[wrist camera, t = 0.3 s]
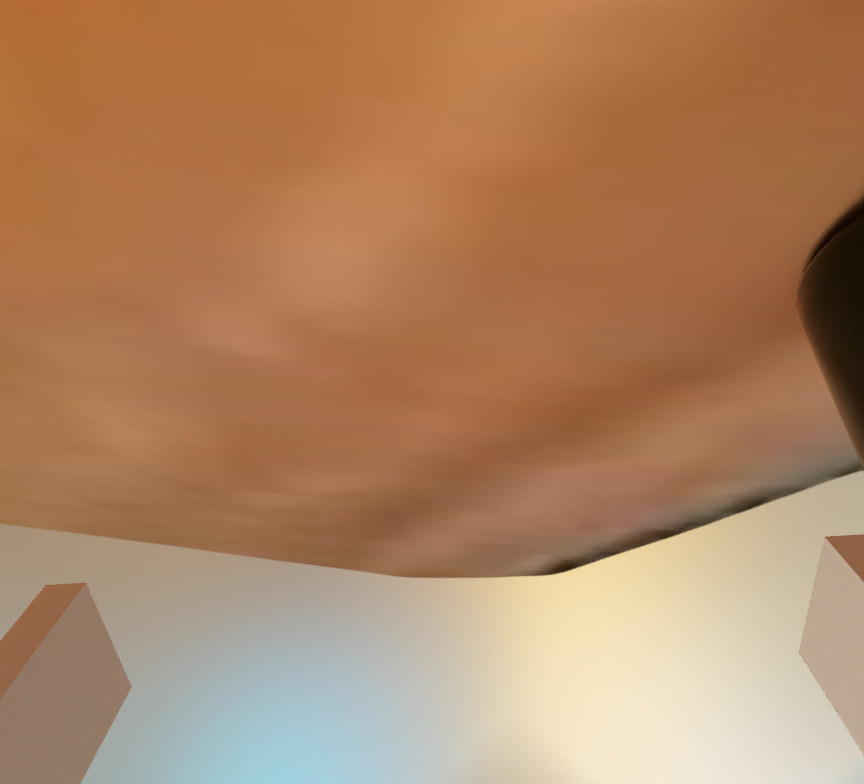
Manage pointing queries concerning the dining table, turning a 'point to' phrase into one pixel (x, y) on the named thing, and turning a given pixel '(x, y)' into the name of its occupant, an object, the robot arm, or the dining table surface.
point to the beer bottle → (839, 323)
